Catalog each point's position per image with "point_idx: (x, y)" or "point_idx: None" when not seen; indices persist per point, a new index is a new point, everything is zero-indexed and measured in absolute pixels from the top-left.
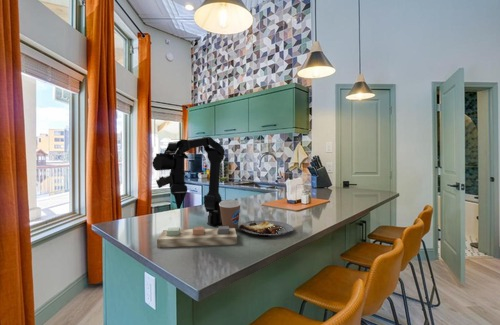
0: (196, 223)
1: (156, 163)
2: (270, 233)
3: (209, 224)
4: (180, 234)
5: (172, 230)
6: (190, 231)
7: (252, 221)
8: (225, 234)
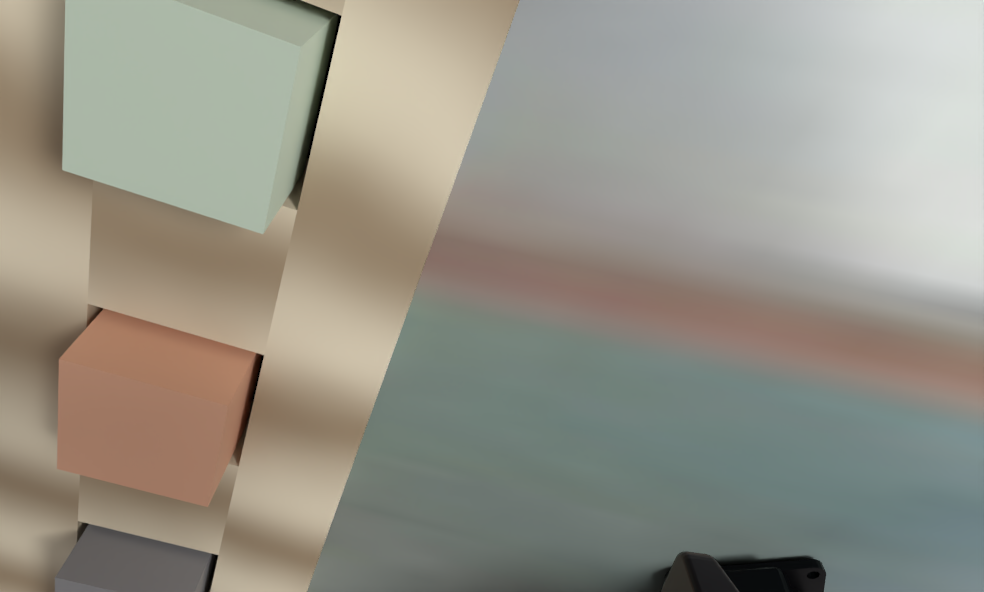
0: (937, 483)
1: None
2: None
3: (751, 566)
4: None
5: (74, 75)
6: (283, 329)
7: None
8: None
